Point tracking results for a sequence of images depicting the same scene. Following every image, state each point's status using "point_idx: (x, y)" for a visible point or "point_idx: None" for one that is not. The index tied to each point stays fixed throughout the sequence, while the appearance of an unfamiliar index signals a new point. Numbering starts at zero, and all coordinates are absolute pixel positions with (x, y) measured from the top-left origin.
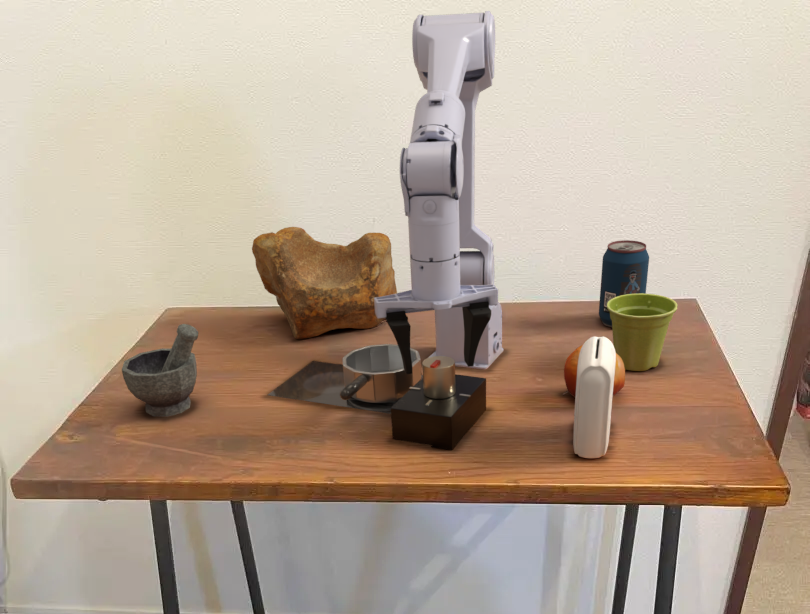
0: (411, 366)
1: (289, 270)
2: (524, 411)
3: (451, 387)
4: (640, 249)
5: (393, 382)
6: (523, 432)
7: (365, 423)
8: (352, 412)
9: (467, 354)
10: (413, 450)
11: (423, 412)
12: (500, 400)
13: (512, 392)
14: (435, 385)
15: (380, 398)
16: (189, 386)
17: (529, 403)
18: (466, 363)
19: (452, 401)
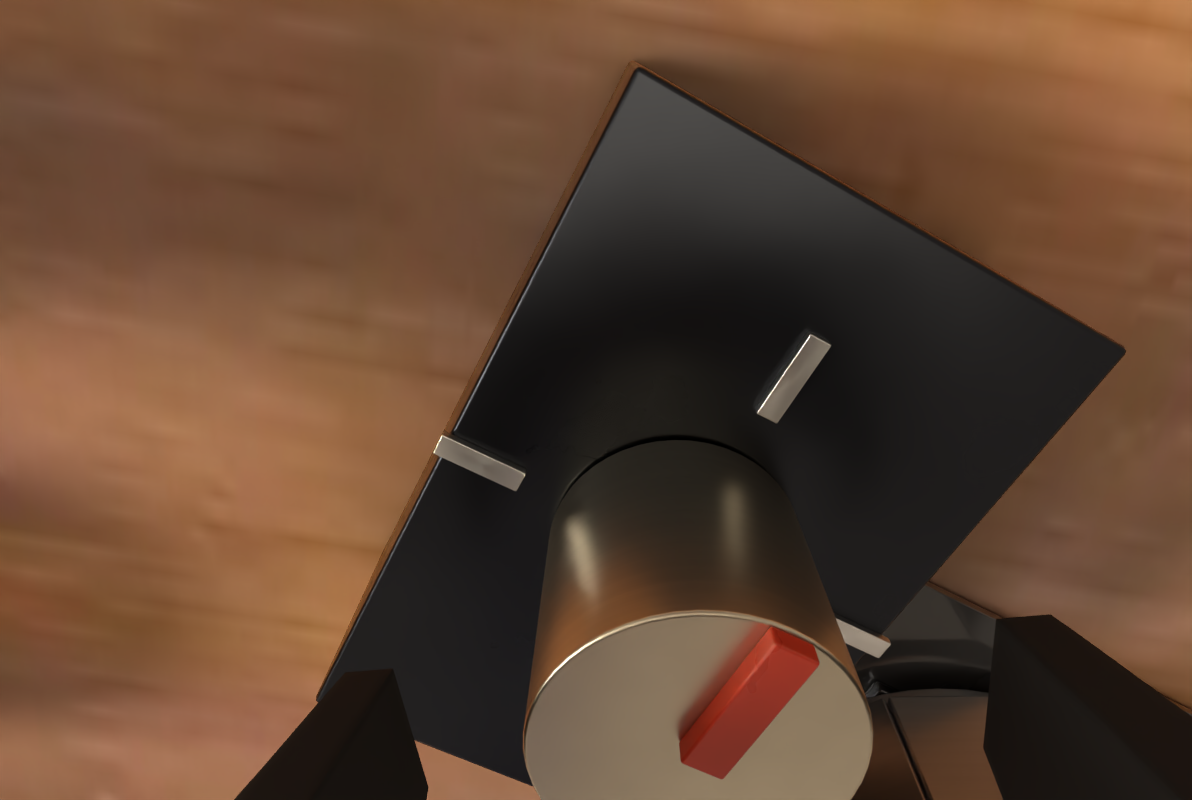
0: (1053, 664)
1: None
2: (164, 509)
3: (584, 509)
4: None
5: (933, 785)
6: (154, 251)
7: (1089, 517)
8: (1121, 646)
9: (366, 797)
10: (887, 112)
11: (873, 207)
12: (302, 645)
13: (240, 713)
14: (735, 509)
15: (984, 703)
16: None
17: (142, 590)
18: (409, 729)
19: (590, 382)
